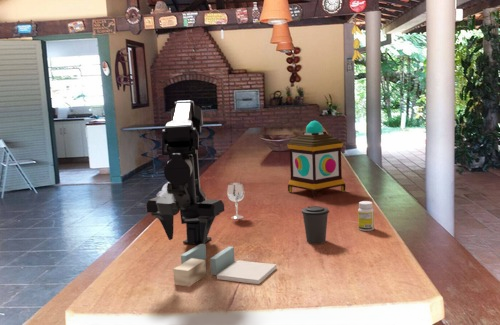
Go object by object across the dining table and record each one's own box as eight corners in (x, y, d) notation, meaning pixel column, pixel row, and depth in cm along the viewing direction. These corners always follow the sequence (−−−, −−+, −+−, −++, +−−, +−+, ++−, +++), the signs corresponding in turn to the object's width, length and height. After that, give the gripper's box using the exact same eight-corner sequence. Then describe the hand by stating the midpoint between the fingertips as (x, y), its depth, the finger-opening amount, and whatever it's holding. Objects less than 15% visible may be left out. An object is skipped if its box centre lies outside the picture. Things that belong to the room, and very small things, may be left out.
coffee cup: (301, 237, 156) (300, 204, 155) (328, 236, 156) (327, 203, 154) (303, 245, 148) (301, 211, 147) (331, 244, 148) (331, 210, 146)
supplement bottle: (364, 226, 165) (363, 200, 164) (377, 228, 162) (376, 201, 160) (355, 229, 162) (354, 203, 160) (368, 232, 158) (368, 205, 157)
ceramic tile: (237, 264, 136) (237, 260, 136) (276, 268, 131) (276, 264, 131) (216, 278, 126) (216, 274, 126) (258, 284, 121) (258, 280, 121)
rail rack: (201, 258, 142) (200, 243, 141) (234, 261, 138) (233, 246, 137) (181, 270, 133) (180, 255, 132) (216, 274, 129) (215, 259, 128)
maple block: (192, 273, 131) (191, 258, 130) (206, 275, 129) (205, 259, 129) (174, 285, 124) (173, 268, 123) (188, 287, 122) (187, 270, 122)
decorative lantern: (350, 191, 217) (349, 119, 213) (314, 199, 206) (311, 123, 202) (318, 185, 234) (316, 118, 229) (283, 192, 223) (280, 121, 218)
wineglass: (225, 218, 184) (223, 184, 182) (237, 214, 188) (235, 181, 186) (237, 220, 180) (235, 186, 178) (248, 216, 184) (247, 183, 182)
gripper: (128, 182, 120) (134, 247, 122) (199, 185, 112) (203, 255, 114) (157, 173, 130) (161, 234, 132) (223, 175, 122) (227, 240, 124)
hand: (186, 241), depth 126 cm, fingers open, 9 cm apart
